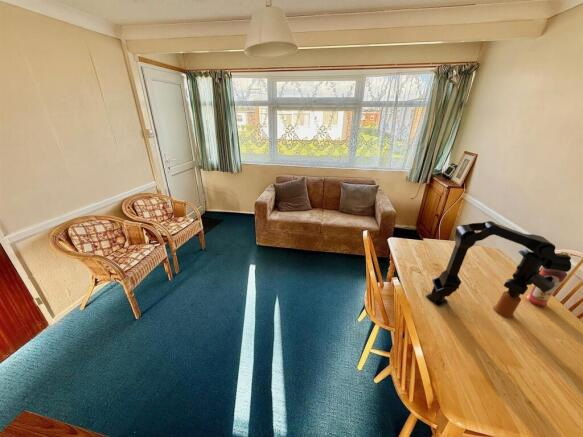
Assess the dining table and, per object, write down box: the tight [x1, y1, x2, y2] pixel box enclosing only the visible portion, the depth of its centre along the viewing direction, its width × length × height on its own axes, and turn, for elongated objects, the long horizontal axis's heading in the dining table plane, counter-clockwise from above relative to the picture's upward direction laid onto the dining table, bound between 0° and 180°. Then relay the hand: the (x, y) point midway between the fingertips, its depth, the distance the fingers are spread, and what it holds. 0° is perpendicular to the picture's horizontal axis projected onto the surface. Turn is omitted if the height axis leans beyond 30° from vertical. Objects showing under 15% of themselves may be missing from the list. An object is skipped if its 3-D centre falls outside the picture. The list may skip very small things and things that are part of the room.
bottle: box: [494, 290, 522, 318], centre depth 101 cm, size 6×6×13 cm
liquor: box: [526, 251, 571, 307], centre depth 102 cm, size 7×7×28 cm
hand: (513, 294), depth 99 cm, fingers closed on cap, 4 cm apart
